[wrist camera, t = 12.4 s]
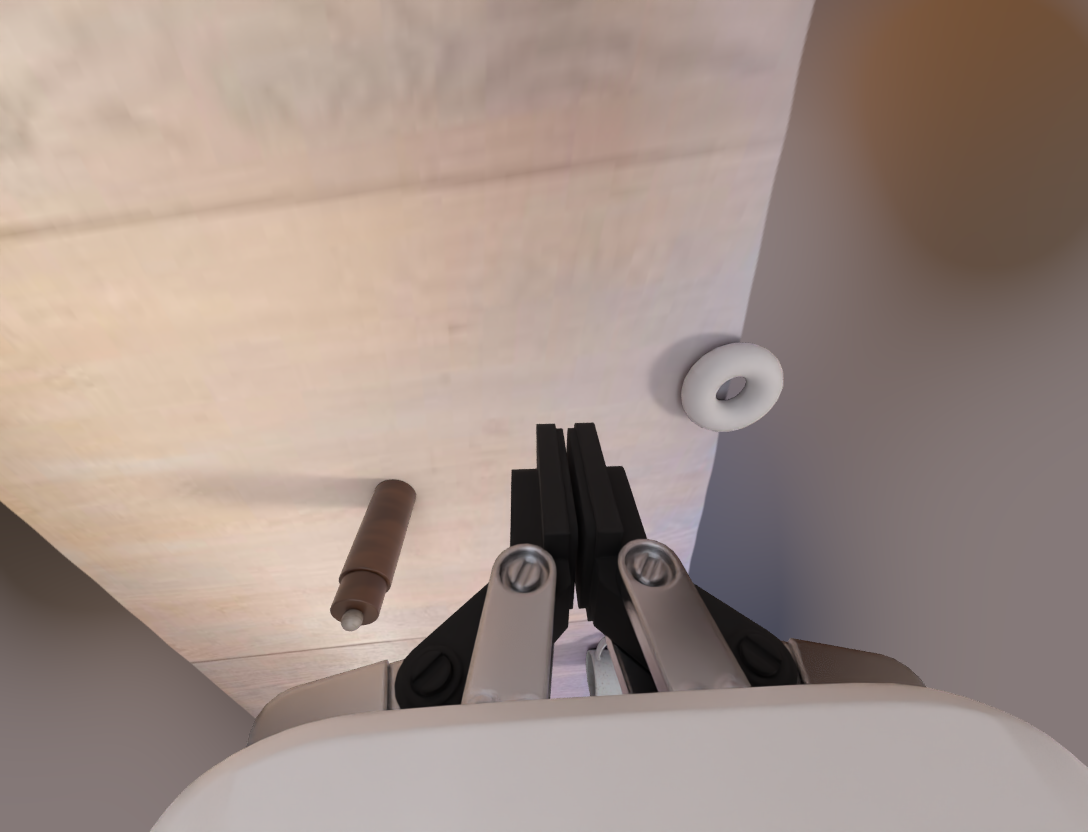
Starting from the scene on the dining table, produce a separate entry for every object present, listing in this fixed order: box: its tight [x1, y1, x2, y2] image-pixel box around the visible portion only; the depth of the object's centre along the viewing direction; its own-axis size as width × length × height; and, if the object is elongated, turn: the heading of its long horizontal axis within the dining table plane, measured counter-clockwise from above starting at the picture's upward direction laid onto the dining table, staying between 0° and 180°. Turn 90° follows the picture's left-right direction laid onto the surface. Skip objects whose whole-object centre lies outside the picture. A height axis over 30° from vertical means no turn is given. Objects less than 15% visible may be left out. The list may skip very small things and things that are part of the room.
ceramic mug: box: [586, 637, 623, 696], centre depth 69 cm, size 11×8×8 cm
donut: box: [681, 343, 783, 432], centre depth 41 cm, size 10×3×10 cm
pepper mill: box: [330, 480, 416, 631], centre depth 42 cm, size 5×5×16 cm
